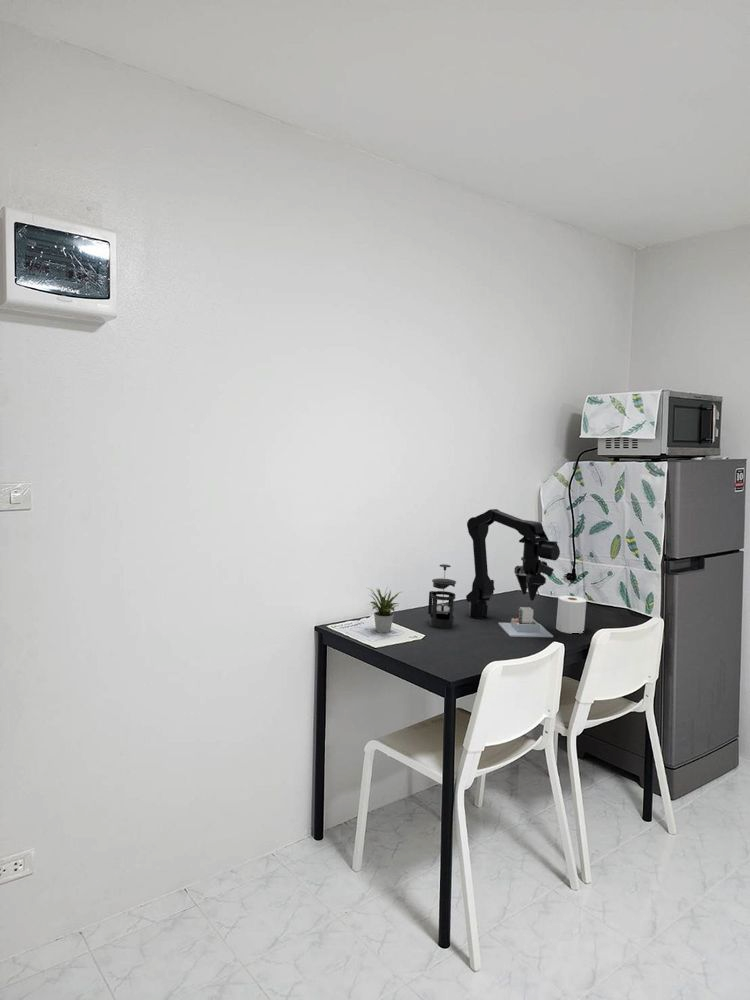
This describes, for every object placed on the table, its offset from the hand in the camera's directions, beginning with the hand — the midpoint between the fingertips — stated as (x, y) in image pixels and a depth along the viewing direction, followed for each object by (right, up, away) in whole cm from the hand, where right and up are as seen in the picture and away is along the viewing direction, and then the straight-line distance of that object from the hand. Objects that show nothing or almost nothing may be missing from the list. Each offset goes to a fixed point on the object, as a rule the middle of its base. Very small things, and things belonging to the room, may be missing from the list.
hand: (528, 597), depth 263 cm
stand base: (-1, -13, +1) cm, 13 cm away
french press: (-32, -11, +3) cm, 34 cm away
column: (-1, -13, +1) cm, 13 cm away
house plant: (-55, -11, -8) cm, 57 cm away
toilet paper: (+17, -13, +5) cm, 22 cm away
